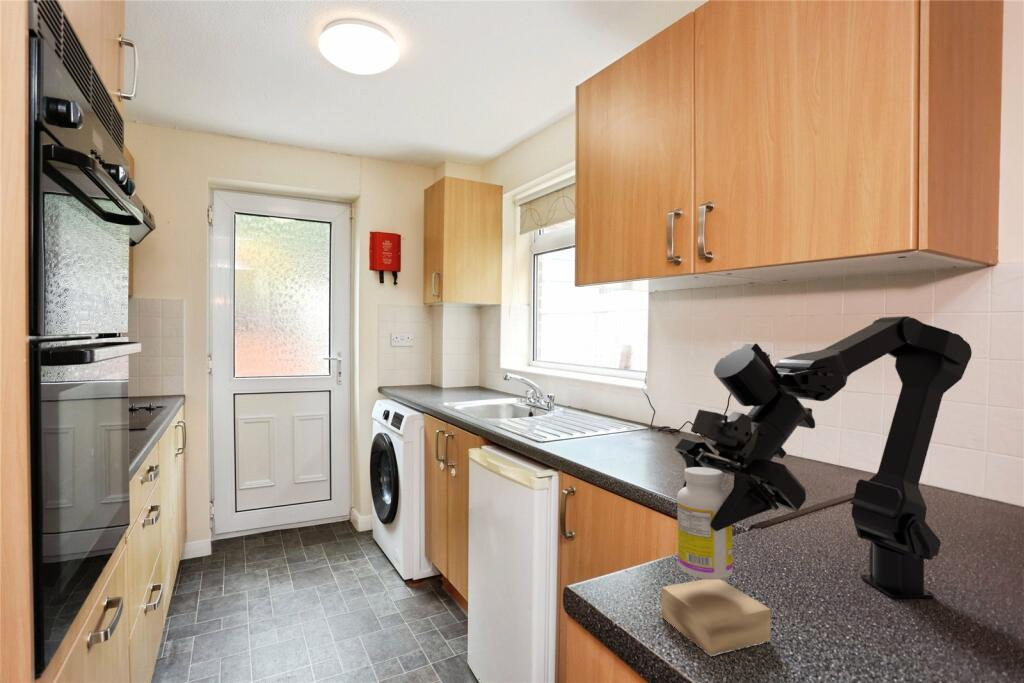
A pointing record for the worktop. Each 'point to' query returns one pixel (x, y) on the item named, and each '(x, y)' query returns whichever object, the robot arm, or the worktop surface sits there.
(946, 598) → the worktop surface
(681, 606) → the oak block
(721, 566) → the supplement bottle
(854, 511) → the robot arm
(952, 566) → the worktop surface
